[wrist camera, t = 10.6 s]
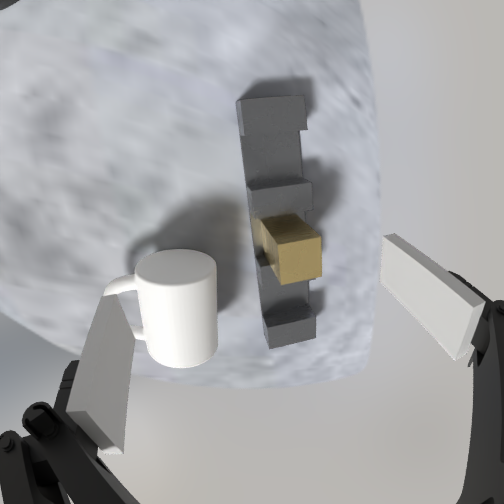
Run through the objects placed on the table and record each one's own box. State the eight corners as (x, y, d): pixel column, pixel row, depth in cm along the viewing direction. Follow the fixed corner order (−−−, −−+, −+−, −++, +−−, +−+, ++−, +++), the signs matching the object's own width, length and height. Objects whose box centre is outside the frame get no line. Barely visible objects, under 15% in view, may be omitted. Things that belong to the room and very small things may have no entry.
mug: (213, 247, 34) (220, 282, 26) (214, 322, 37) (221, 367, 30) (105, 250, 31) (85, 286, 24) (119, 325, 35) (108, 369, 28)
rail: (235, 102, 28) (240, 99, 25) (294, 97, 29) (304, 95, 26) (264, 334, 39) (269, 349, 37) (308, 324, 40) (315, 337, 37)
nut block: (260, 220, 33) (277, 245, 27) (296, 214, 33) (321, 237, 27) (264, 254, 35) (281, 285, 28) (298, 248, 35) (322, 276, 29)
